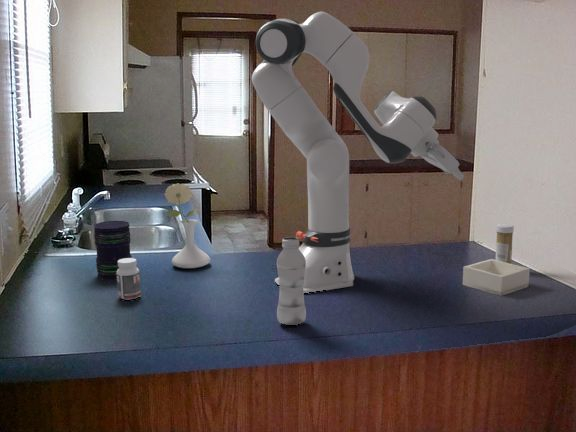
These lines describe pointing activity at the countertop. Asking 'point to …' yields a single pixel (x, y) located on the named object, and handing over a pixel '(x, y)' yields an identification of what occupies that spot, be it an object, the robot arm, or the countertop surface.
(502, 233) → the sprinkles bottle
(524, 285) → the box
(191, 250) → the flower in vase
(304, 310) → the plastic bottle
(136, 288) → the pill bottle
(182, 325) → the countertop surface
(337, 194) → the robot arm
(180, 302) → the countertop surface
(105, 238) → the storage jar
